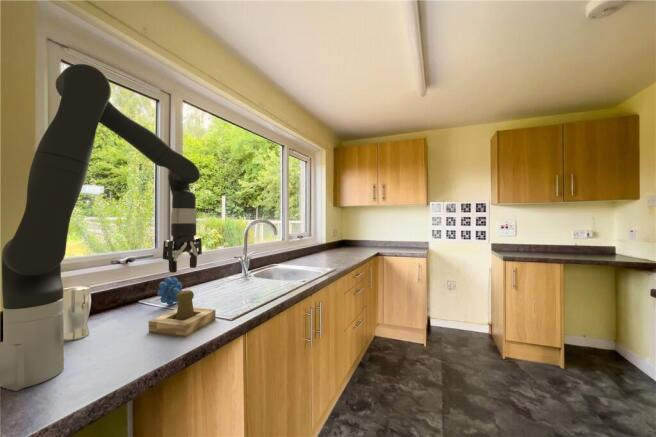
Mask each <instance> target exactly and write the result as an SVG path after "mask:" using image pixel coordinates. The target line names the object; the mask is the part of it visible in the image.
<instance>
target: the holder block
mask: <svg viewBox="0 0 656 437" xmlns="http://www.w3.org/2000/svg"><path fill="white" fill-rule="evenodd" d="M193 310H194V316H193V317H191V318H189V319H187V320H185V321H184V320H176V315H177V308H176V309H175V310H172V311H169V312H167V313H165V314H163V315H160V316H158V317H156V318H152V319H150V320H148V333H151V334H157V335H159V334H160V335H166V336H173V337H180V338H186V337H188V336H190V335H191V334H194V333H195V332H197V331H199V330H200V329H202V328H204V327H205V326H207V325H209V324H211V323H212V322H214V321H216V309H211V308H202V307H201V308H199V307H193Z"/></svg>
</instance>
